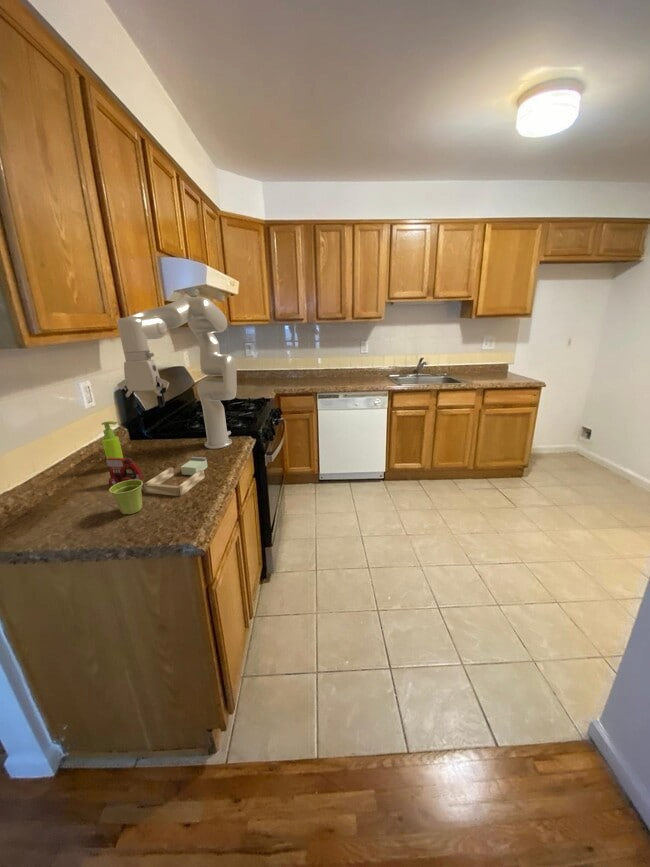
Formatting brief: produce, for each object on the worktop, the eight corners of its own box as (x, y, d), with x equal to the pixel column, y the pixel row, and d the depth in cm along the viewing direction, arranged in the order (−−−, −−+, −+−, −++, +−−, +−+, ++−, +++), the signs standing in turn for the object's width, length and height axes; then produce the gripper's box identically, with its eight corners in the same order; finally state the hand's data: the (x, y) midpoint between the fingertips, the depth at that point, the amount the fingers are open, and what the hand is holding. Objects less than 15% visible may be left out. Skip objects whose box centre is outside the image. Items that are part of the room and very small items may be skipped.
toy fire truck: (136, 488, 128) (130, 462, 125) (105, 487, 130) (99, 461, 127) (148, 480, 135) (142, 455, 131) (118, 479, 136) (112, 454, 133)
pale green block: (193, 466, 146) (192, 456, 145) (207, 467, 145) (206, 457, 143) (182, 474, 139) (180, 464, 137) (196, 476, 137) (194, 465, 136)
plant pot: (111, 510, 114) (105, 486, 111) (141, 499, 120) (136, 476, 117) (121, 521, 108) (114, 496, 105) (152, 509, 114) (147, 485, 111)
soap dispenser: (123, 470, 144) (111, 423, 138) (106, 471, 144) (94, 424, 138) (130, 464, 150) (120, 419, 143) (114, 465, 150) (103, 420, 143)
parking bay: (170, 474, 139) (169, 467, 138) (204, 477, 135) (203, 470, 134) (144, 492, 125) (142, 484, 124) (181, 496, 122) (179, 488, 121)
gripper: (168, 354, 120) (177, 403, 125) (118, 356, 120) (129, 405, 126) (158, 357, 112) (168, 409, 118) (105, 359, 113) (117, 410, 119)
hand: (148, 406), depth 122 cm, fingers open, 9 cm apart
